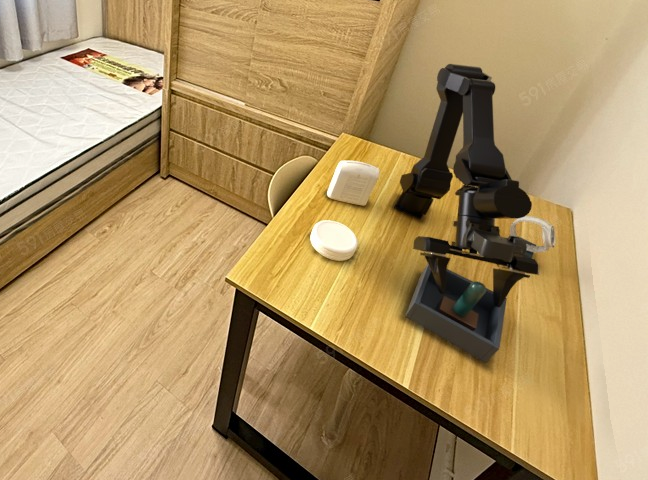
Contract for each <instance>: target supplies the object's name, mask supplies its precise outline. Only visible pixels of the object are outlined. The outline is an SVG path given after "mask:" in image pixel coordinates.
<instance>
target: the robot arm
mask: <svg viewBox="0 0 648 480" xmlns="http://www.w3.org/2000/svg"><path fill="white" fill-rule="evenodd" d="M492 79H493V77H492V76H490V75H489V74H487V73H485V72H483V69H482V68H481V67H480V66H472V65H464V64H457V63H448V64H447V65H445V67H442V68H440V69H439V71H438V72H437V76H436V82H437V83H436V93H437V95H438V97H439V99H440V102H439V106H438V109H437V113H436V117H435V119H434V122H433V126H432V129H431V132H430V136H429V139H428V142H427V146H426V149H425V152H424V156H423V157H422V158H421V159H420V160H418V161H417V162H416V163H414V165H413V166H412V169H411V171H410V172H409V173H404V174H401V176H400V179H399V184H400V187H401V189H402V192H401V194H399V196H398V199H397V200H396V203H395V205H394V206H393V208H394V209H395V210H397V211H400V212H402V213H404V214H405V215H408V216H411V217H413V218H415V219H418V220H422V218H423V216H426V215H427V213H428V212H429V210H430V208H431V206H432V205H433V202H434V199H435V200H441V199H442V198H444V197H445V196H446V195H447V194H448V193H449V191H450V190H451V185H452V183H451V182H452V180H453V178H454V177H455V179H458V181H459V182H461V183H462V187H460V188H459V189H457V190H456V191H455V192H454V195H455V196H458V205H457V218H456V220H454V221H453V225H452V226H453V227H456V229H455V231H456V232H455V241H453V240H451V244H450V242H449V240H447V239H445V240H444V239H441V238H436V237H432V236H423V235H422V236H420V235H418V236H416V237H415V238H414V239H413V247H412V249H413V250H415V251H420V252H419V255H420V256H423V257H424V258H425V260H426V262H427V264H429V266H430V268H431V270H432V273H433V276H434V278H435V281H436V284H437V287H438V289H439V292H440V294H445V290H446V276H447V269H448V266H449V263H450V261H451V257H447V255H452V256H457V257H462V258H467V259H469V260H470V259H471V260H476V261H479V262H485V263H490V264H494V265H496V266H497V267H498V268H492V291H493V300H494V306H495V307H499V308H500V307H501V305H502V304H503V302H504V300H505V298H507V297H508V296H509V293H510V291H511V290H512V289H513V287H514V286H515V285H516V283H518V282H519V281H520V280H523V279H524V278H527V279H530V277H531V275H535V276H540V265H539V263H538V262H537V260H536V258H533V257H532V258H527V257H524V256H525V254H526V250H527V245H526V240H527V239H525V238H523V237H521V236H518V237H516V236H510V235H509V236H508V237H505V236H502V235H501V234H500V232H501V231H500V226H498V225H496V219H499V220H501V219H517V218H522V217H524V216H528V214H530V212H531V210H532V207H533V202H532V200H531V198H530V196H529V194H528V193H527V192H526V191H525V190H523V189H522V188H520V181H519V180H514V179H512V177H511V175H510V173H509V171H508V170H507V168H506V163H505V157H504V154H503V152H502V151H501V150H500V149H499V148H498V146H496V143H495V128H494V126H495V125H494V101H493V96H494V94H495V93H496V83H495V82H493V81H492ZM461 120H462V133H463V135H462V137H463V141H462V148H461V149H460V150H459V151H458V153H457V154H455V160H454V161H455V162H454V163H453V167H452V168H453V169H452V171H453V172H451V171H450V168H449V165H448V162H449V158H450V156H451V151H452V149H453V147H454V142H455V139H456V136H457V133H458V130H459V126H460V123H461ZM467 250H468V251H467ZM529 274H530V275H529Z"/></svg>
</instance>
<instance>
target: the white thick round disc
mask: <svg viewBox="0 0 648 480" xmlns="http://www.w3.org/2000/svg"><path fill="white" fill-rule="evenodd" d="M309 238H310V244H311V245H312V247H313V249H314V250H315V251H316V252H317V253H318V254H320V255H321V256H323V257H324V258H327V259H329V260H332V261H338V262H340V261H341V262H343V261H348V260H349V259H351V258H352V257H354V254H355V252H356V250H357V248H358V242H359V241H358V238H357V236H356V234H355V233H354V231H353V230H352V229H350V228H349V227H348V226H347V225H345V224H343V223H341V222H338V221H335V220H328V219H325V220H320V221H318V222H316V224H314V225H313V228H312V230H311V233H310V237H309Z"/></svg>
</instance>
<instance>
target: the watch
mask: <svg viewBox="0 0 648 480" xmlns="http://www.w3.org/2000/svg"><path fill="white" fill-rule="evenodd" d="M519 223H531V224H536V225H538V226H539V227H541V229H542V231H541V235H542V236H541V238H542V243H543V245H537V244H535V243H533V242H532V241H529V240H527V239H525V240H526V245H527V250H526V254H525V256H524V257H527V258H532V259H533V256H534V254H535V253H544V252H548V251H550V249H554V248H555V245H556V230H555V227H554V225H552V224H550V223H549V222H548V221H547V220H545V219H542V218H540V217H538V216H531V215H526V216H524V217H522V218H515V219H514V221H512V222H511V224H510V228H509V236H516V237H519V236H518V233H517V224H519Z"/></svg>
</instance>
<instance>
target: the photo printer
mask: <svg viewBox="0 0 648 480" xmlns="http://www.w3.org/2000/svg"><path fill="white" fill-rule="evenodd" d="M379 177H380V168H378V167H377V166H375V165H372V164H369V163H366V162H363V161H357V160H340V161H339V162H338V164H337V165H336V168H335V170H334V174H333V176H332V178H331V180H330V183H329V187H328V188H327V191H326V195H327V197H328V198H329V199H331V200H335V201H339V202H343V203H348V204H352V205H357V206H363V207H364V206H367V203H368V201H369V199H370V197H371V195H372V193H373V191H374V188H375V186H376V184H377V182H378V180H379Z"/></svg>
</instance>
